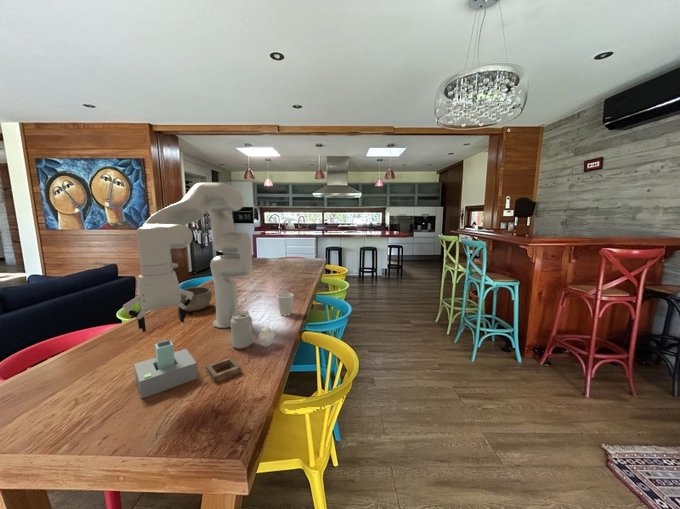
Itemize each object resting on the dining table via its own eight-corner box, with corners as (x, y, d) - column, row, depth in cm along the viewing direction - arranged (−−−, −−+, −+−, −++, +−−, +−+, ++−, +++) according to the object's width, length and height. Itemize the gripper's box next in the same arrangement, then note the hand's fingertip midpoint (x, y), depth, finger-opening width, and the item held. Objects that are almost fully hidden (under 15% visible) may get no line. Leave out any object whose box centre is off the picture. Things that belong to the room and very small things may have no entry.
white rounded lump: (276, 346, 103) (276, 328, 102) (260, 350, 100) (260, 332, 99) (272, 339, 108) (271, 323, 107) (256, 343, 105) (255, 326, 104)
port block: (187, 362, 91) (186, 347, 90) (197, 378, 82) (196, 361, 82) (135, 379, 82) (134, 362, 81) (141, 398, 73) (139, 380, 72)
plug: (172, 370, 85) (169, 337, 83) (175, 375, 82) (172, 341, 80) (157, 375, 82) (154, 341, 81) (160, 381, 79) (156, 345, 78)
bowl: (202, 314, 136) (201, 295, 135) (167, 314, 137) (165, 295, 135) (218, 303, 153) (217, 286, 152) (187, 303, 154) (185, 286, 152)
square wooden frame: (231, 362, 91) (231, 357, 91) (241, 372, 85) (240, 366, 85) (206, 371, 86) (205, 365, 86) (214, 383, 80) (214, 376, 80)
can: (256, 342, 106) (255, 313, 105) (244, 351, 99) (242, 319, 98) (240, 339, 109) (239, 310, 107) (227, 347, 102) (225, 317, 100)
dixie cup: (287, 310, 143) (287, 291, 142) (297, 314, 137) (297, 294, 136) (274, 314, 137) (273, 295, 136) (283, 318, 131) (282, 298, 130)
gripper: (187, 263, 86) (192, 314, 89) (117, 271, 75) (125, 330, 78) (193, 267, 81) (198, 321, 84) (119, 276, 69) (128, 339, 72)
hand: (163, 325), depth 81 cm, fingers open, 9 cm apart
